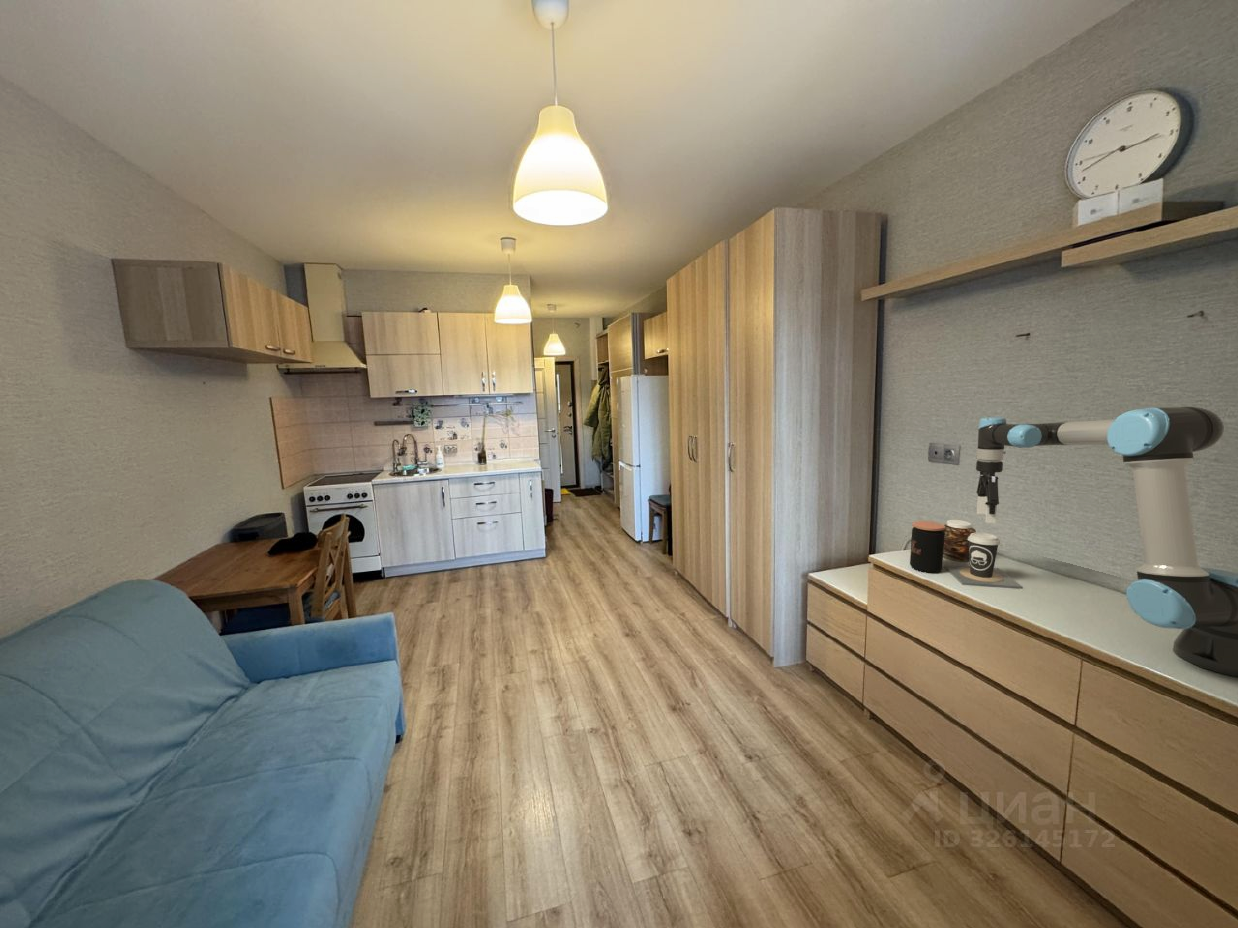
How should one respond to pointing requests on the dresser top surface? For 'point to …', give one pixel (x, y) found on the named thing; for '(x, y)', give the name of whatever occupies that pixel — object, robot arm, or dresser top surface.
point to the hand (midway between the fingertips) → (985, 518)
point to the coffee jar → (927, 546)
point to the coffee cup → (982, 554)
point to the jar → (957, 540)
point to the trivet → (995, 581)
